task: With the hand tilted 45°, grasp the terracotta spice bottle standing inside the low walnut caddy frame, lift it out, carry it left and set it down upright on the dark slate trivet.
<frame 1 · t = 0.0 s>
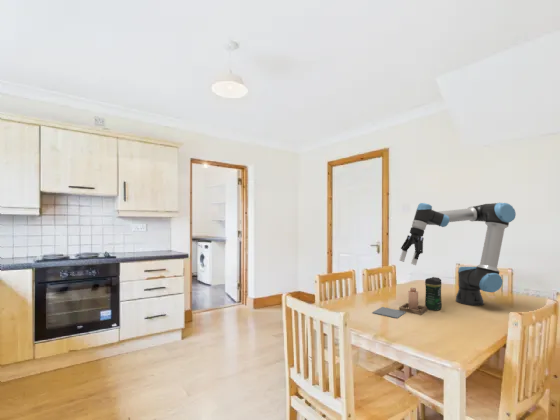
hand: (407, 262, 178), 28 cm above the table, tool tilted 20°, fingers open, 13 cm apart
coffee jar: (433, 308, 182), on the table
slate trivet: (389, 312, 173), on the table
terracotta spice bottle: (413, 299, 178), in the walnut caddy frame
walnut caddy frame: (413, 310, 178), on the table
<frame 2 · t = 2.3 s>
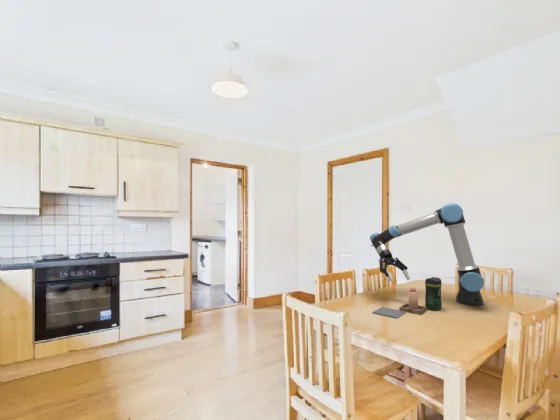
hand: (400, 279, 188), 16 cm above the table, tool tilted 45°, fingers open, 13 cm apart
nothing on the table moved.
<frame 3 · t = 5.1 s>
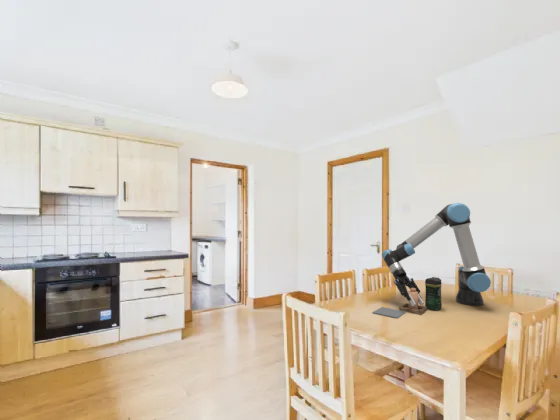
hand: (418, 304, 174), 4 cm above the table, tool tilted 45°, fingers closed on terracotta spice bottle, 5 cm apart
terracotta spice bottle: (413, 299, 178), in the walnut caddy frame, touching gripper
everything else where it was.
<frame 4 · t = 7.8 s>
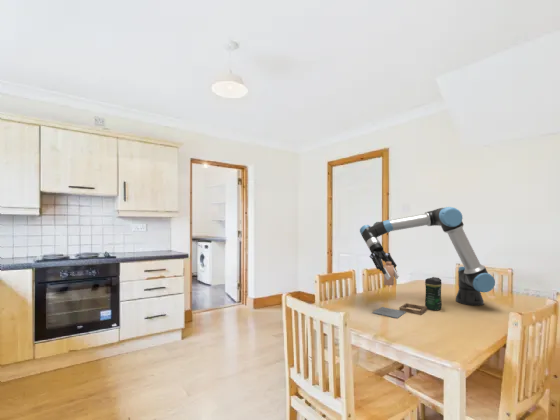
hand: (393, 278, 170), 20 cm above the table, tool tilted 45°, fingers closed on terracotta spice bottle, 5 cm apart
terracotta spice bottle: (388, 273, 174), point 23 cm above the table, touching gripper
everything else where it was.
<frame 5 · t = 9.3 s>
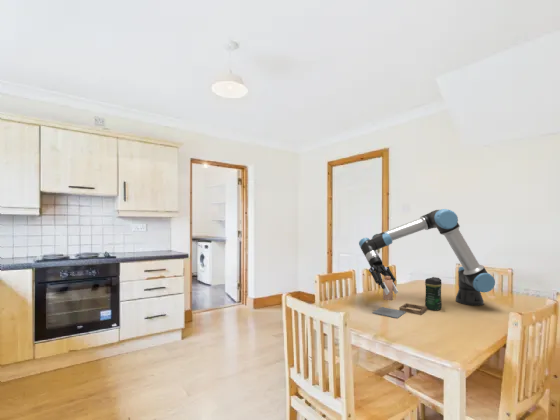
hand: (392, 292, 170), 12 cm above the table, tool tilted 45°, fingers closed on terracotta spice bottle, 5 cm apart
terracotta spice bottle: (387, 287, 173), point 14 cm above the table, touching gripper
everything else where it was.
when the fingers open (6 cm above the table, at t = 10.7 s): terracotta spice bottle drops 1 cm, resting on slate trivet.
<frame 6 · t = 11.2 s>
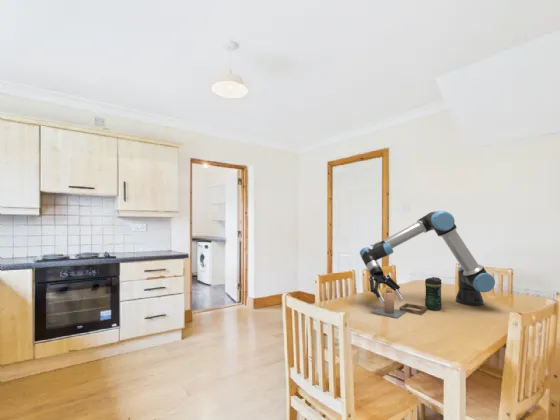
hand: (392, 301, 171), 7 cm above the table, tool tilted 45°, fingers open, 12 cm apart
terracotta spice bottle: (389, 300, 173), on the slate trivet, point 7 cm above the table
everything else where it was.
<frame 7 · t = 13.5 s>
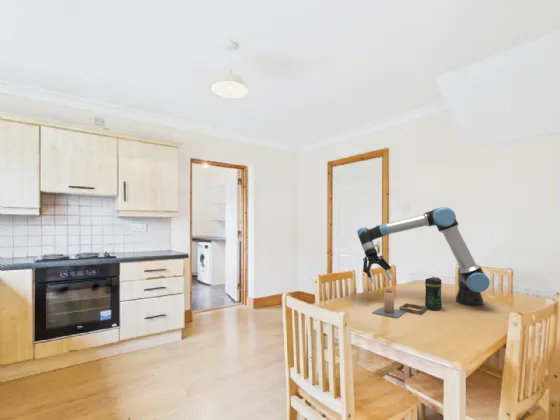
hand: (381, 281, 189), 15 cm above the table, tool tilted 30°, fingers open, 13 cm apart
nothing on the table moved.
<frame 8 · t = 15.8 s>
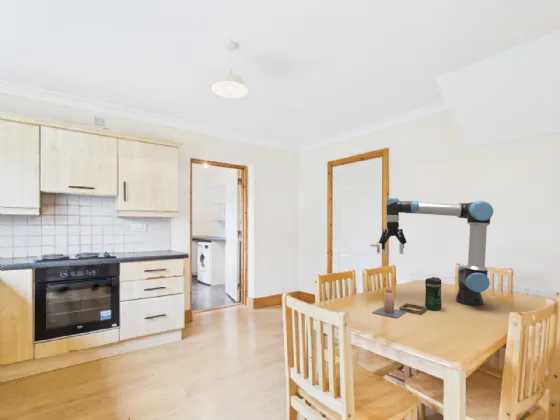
hand: (393, 254, 198), 31 cm above the table, tool pointing down, fingers open, 13 cm apart
nothing on the table moved.
at the end: terracotta spice bottle inside the target area on the slate trivet (0.1 cm from its centre), point 7.1 cm above the slate trivet's base; terracotta spice bottle tilted 0°; the gripper is holding nothing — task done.
